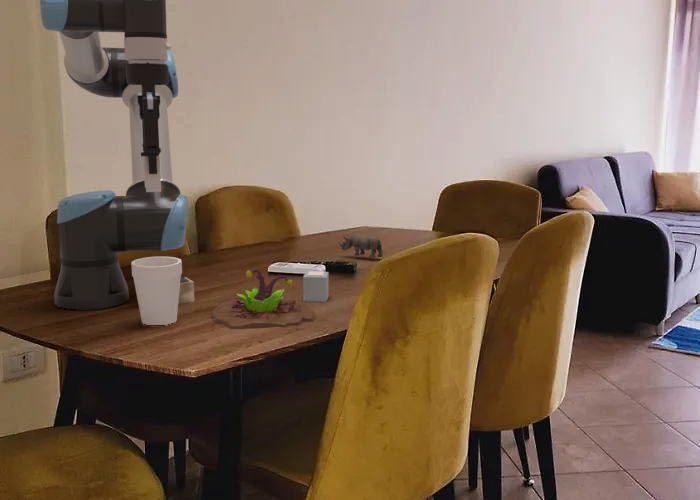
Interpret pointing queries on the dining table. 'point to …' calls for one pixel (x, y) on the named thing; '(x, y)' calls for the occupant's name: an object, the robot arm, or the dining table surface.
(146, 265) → the foam cup
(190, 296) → the tile block
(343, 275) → the dining table surface
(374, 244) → the rhino figurine
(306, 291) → the tile block
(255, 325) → the plant
